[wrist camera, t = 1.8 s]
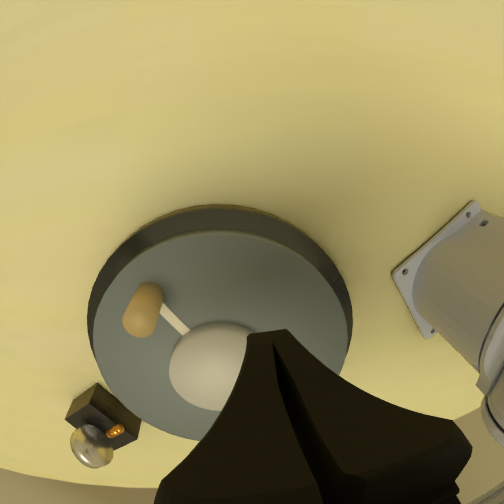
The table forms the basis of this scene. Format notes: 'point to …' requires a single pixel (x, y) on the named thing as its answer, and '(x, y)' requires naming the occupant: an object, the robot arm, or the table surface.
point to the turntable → (206, 322)
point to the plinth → (218, 219)
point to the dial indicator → (100, 426)
